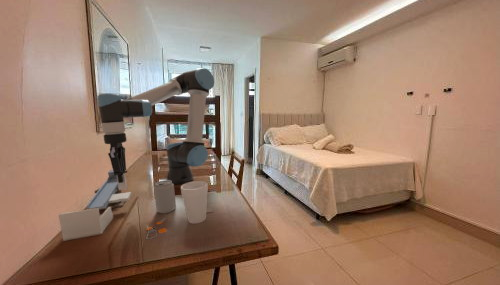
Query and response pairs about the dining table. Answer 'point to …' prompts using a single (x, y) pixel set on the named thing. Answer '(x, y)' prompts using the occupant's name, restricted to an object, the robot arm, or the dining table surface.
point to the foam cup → (195, 200)
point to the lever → (108, 193)
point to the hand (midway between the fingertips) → (123, 189)
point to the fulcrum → (114, 204)
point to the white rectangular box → (84, 223)
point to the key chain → (155, 230)
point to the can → (164, 196)
